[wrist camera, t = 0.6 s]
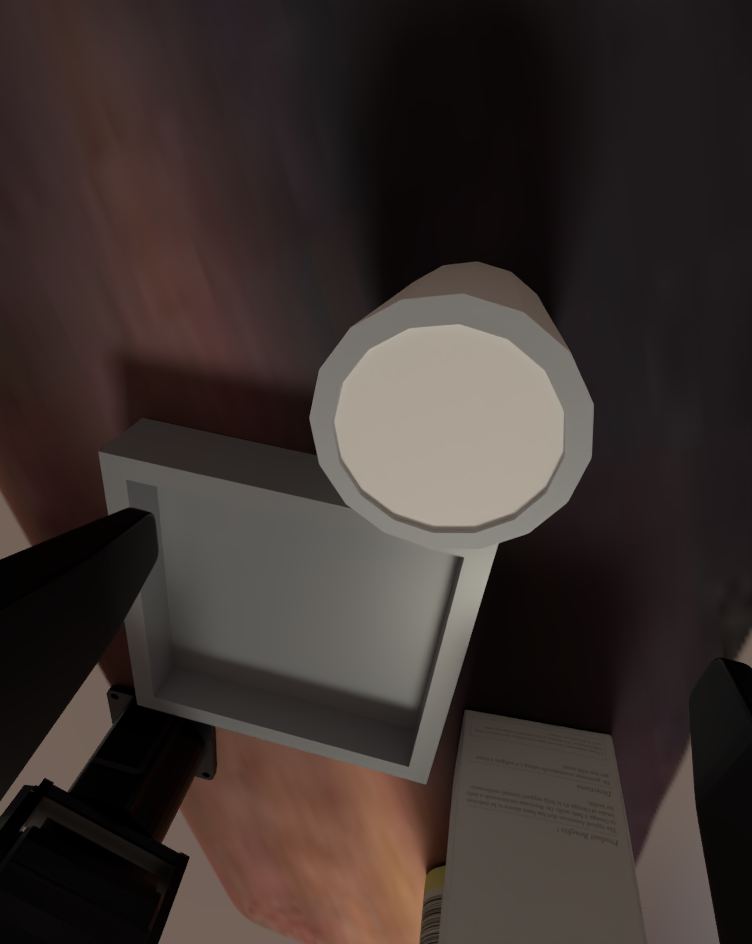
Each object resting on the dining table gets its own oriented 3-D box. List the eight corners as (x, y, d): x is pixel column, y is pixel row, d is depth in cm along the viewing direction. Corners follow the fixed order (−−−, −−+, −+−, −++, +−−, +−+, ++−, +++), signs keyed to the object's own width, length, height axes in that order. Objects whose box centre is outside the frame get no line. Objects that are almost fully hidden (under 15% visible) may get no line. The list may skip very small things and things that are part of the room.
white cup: (340, 278, 20) (263, 342, 14) (548, 208, 17) (564, 250, 11) (403, 453, 22) (362, 569, 17) (588, 413, 20) (618, 531, 14)
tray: (433, 730, 30) (426, 784, 28) (167, 659, 32) (137, 704, 29) (501, 495, 22) (499, 541, 20) (142, 417, 24) (98, 451, 22)
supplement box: (450, 789, 33) (418, 1107, 22) (463, 703, 29) (432, 1038, 18) (586, 818, 31) (621, 1170, 21) (618, 733, 28) (682, 1110, 17)
